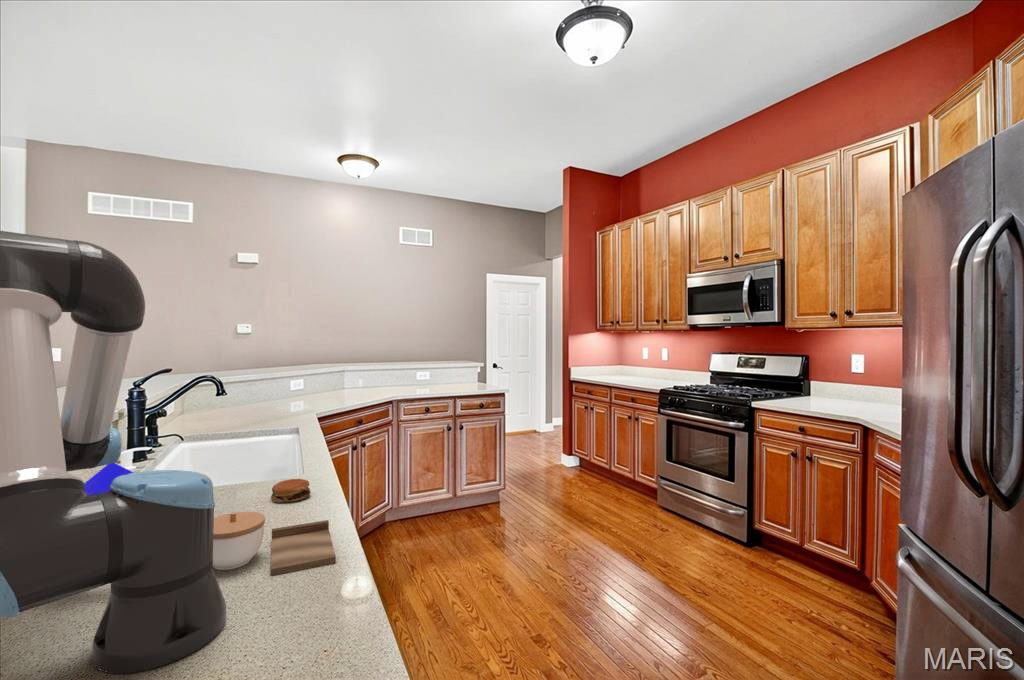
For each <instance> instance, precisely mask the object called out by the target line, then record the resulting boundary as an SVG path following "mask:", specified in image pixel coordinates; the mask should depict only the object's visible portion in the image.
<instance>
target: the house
mask: <svg viewBox="0 0 1024 680" xmlns="http://www.w3.org/2000/svg"><path fill="white" fill-rule="evenodd" d="M129 473H135V472H133V471H131V470H130V469H128V468H125V467H123V466H121V465H119V464H117V463H116V462H114V463H112V464H107V465H104V467H103V468H102V469H101V470H99V471H97V473H95V474H94V475H93V476H92V477H91V478H89V479H88V480H87V481H85V483H84V486H85V493H86V495H92V494H98V493H103V492H108V491H110V490H111V489H110V485H111V484H112V482H113V480H114V479H115V478H116V477H119V476H121V475H127V474H129Z"/></svg>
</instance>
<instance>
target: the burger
mask: <svg viewBox="0 0 1024 680" xmlns="http://www.w3.org/2000/svg"><path fill="white" fill-rule="evenodd" d="M271 492H272V494H271V496H270V498H271V501H272V502H273V501H275V502H274V503H278V502H281V503H293V502H292V501H295V502H298V501H300V500H304V499H307V498H308V497H309V496H310V495H311V488H310V482H309V480H308V479H302V478H290V479H286V480H285V479H284V480H282V481H279V482H277V483H275V484H274V485H273V486H272V488H271ZM297 500H298V501H297Z"/></svg>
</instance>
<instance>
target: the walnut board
mask: <svg viewBox="0 0 1024 680" xmlns="http://www.w3.org/2000/svg"><path fill="white" fill-rule="evenodd" d="M329 523H330V521H329V520H328V519H327V520H320V521H314V522H313V521H312V522H308V523H300V524H294V525H287V526H281V527H276V528H271V545H270V546H271V548H270V550H271V551H270V552H271V553H270V576H271V577H273V576H277V575H282V574H286V573H291V572H296V571H302V570H307V569H312V568H316V567H317V566H318V567H321V566H322V565H323V566H326V565H325V564H328V565H331V564H330V563H333V564H335V563H334V562H336V558H337V557H336V553H335V548H334V544H333V542H332V541H333V540H332V536H331V534H330V530H329V529H330V528H329ZM336 563H337V562H336Z"/></svg>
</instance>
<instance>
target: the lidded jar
mask: <svg viewBox="0 0 1024 680" xmlns="http://www.w3.org/2000/svg"><path fill="white" fill-rule="evenodd" d="M265 520H266V516H265V515H264V514H263V513H261V512H256V511H239V512H238V511H237V512H230V513H226V514H221V515H218V516H216V517H215V516H214V528H213V569H215V570H217V571H230V570H234V569H238V568H241V567H243V566H246V564H248V563H250V562H251V560H252V558H253V557H254V556H255V555H256V554H257V552H258V551H259V549H260V547H261V545H262V543H263V540H264V534H265V522H266V521H265Z"/></svg>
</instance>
